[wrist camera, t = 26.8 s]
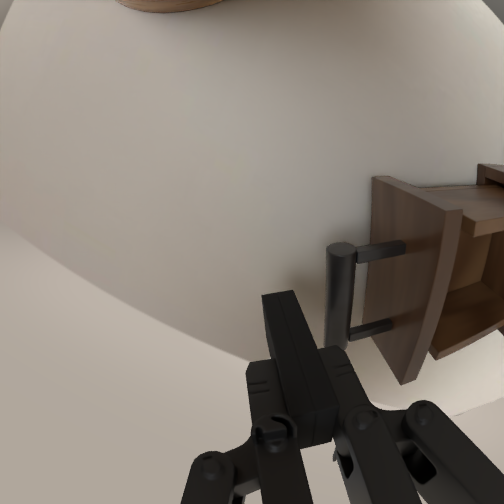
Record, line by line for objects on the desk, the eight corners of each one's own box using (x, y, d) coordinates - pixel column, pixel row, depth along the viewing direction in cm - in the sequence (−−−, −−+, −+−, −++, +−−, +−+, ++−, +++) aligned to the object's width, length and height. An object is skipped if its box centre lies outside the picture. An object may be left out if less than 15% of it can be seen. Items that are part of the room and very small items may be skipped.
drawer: (307, 335, 19) (335, 407, 13) (302, 182, 15) (355, 222, 9) (473, 287, 20) (515, 326, 14) (494, 173, 15) (553, 199, 10)
